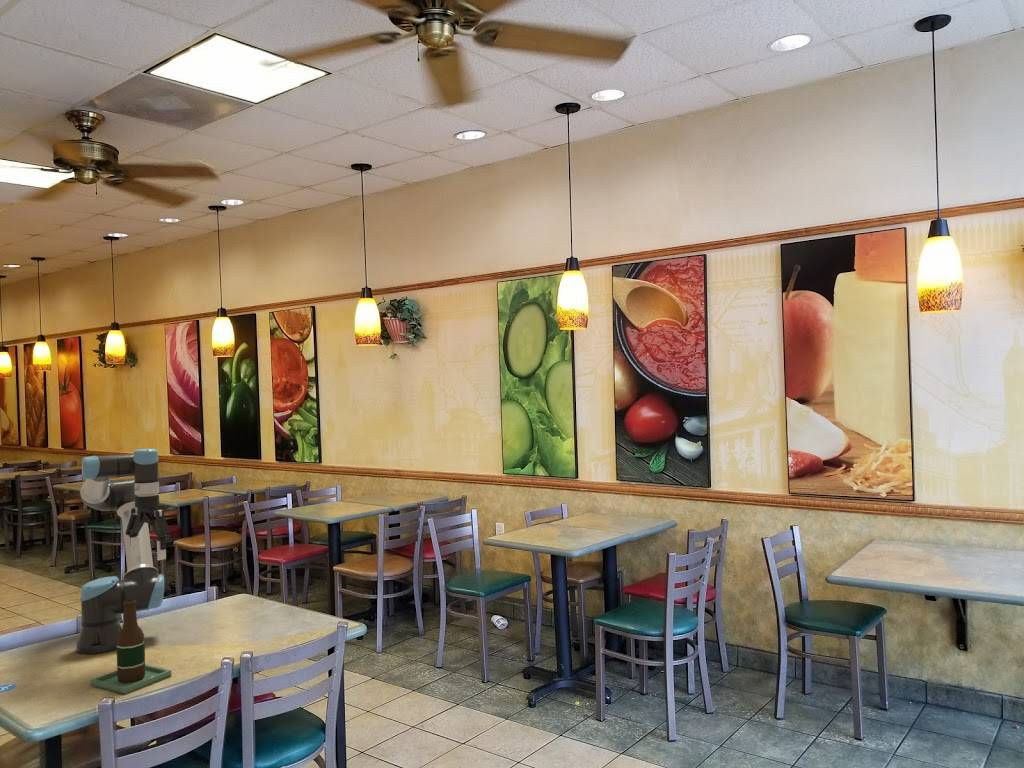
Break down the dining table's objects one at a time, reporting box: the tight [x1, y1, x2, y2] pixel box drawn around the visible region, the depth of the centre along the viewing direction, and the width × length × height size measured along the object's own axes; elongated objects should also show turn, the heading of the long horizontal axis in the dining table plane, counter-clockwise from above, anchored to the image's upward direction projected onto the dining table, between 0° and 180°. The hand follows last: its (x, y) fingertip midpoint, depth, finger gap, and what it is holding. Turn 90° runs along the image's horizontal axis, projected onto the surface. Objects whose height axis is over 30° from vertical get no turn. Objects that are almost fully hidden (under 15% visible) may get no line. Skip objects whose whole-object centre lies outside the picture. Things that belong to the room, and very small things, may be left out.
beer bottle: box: [116, 600, 146, 683], centre depth 239 cm, size 8×8×24 cm
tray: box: [90, 663, 172, 695], centre depth 238 cm, size 16×16×2 cm
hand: (148, 558), depth 262 cm, fingers open, 13 cm apart
